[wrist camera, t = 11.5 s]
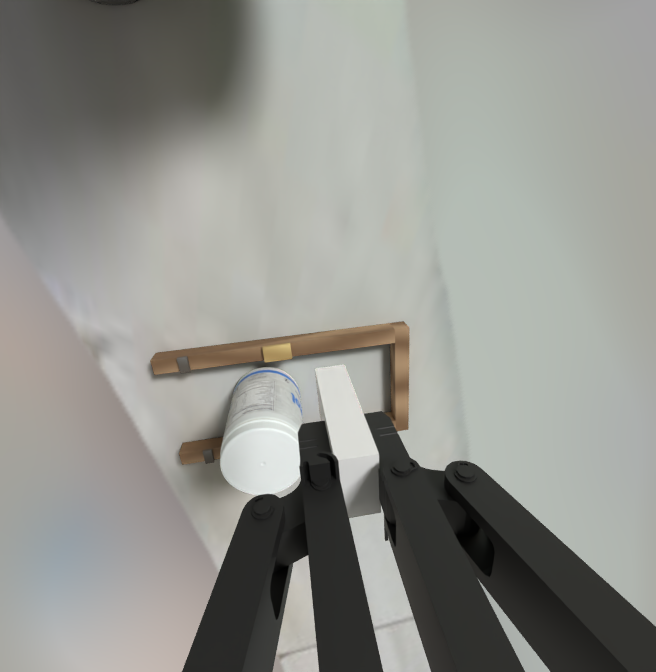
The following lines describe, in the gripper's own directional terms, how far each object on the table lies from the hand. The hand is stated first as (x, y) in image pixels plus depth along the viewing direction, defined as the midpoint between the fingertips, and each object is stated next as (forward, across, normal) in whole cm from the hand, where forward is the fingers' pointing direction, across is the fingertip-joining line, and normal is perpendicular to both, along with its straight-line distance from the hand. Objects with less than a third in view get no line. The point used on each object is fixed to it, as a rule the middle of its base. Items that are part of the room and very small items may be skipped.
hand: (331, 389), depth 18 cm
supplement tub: (+31, -6, -18) cm, 36 cm away
